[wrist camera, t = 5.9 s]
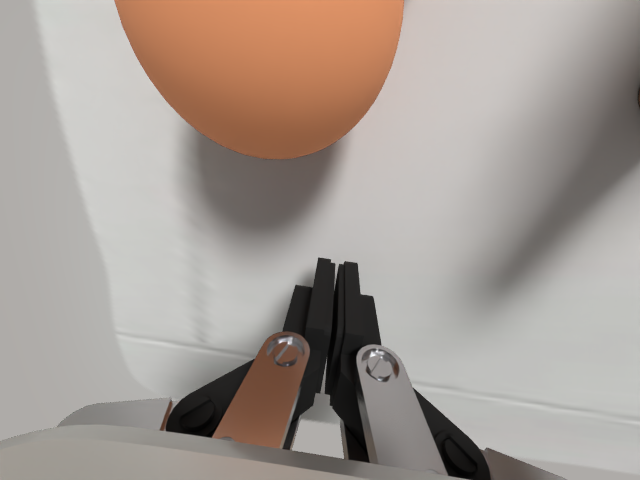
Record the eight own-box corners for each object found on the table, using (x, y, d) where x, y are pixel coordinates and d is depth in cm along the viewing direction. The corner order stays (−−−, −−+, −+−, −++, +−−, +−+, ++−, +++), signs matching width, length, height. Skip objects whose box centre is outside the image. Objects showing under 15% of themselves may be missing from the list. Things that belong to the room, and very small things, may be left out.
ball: (304, -10, 2) (405, 184, 7) (391, -756, 2) (428, -19, 7) (15, 99, 5) (245, 184, 10) (55, -229, 5) (263, 32, 10)
